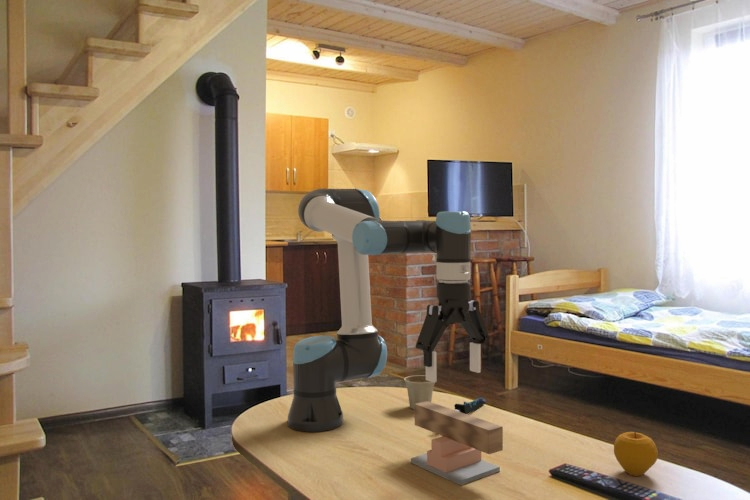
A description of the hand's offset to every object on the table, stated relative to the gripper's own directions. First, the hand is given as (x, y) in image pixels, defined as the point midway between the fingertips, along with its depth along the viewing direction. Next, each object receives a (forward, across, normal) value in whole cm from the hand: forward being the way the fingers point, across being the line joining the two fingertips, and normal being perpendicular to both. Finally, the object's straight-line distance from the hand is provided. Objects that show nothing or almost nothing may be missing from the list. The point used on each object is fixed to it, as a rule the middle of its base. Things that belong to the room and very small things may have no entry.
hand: (453, 376), depth 140 cm
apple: (+21, +28, -27) cm, 44 cm away
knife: (+21, +28, +24) cm, 42 cm away
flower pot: (+21, +24, +39) cm, 50 cm away
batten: (+13, 0, -1) cm, 13 cm away
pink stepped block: (+20, 0, 0) cm, 21 cm away
